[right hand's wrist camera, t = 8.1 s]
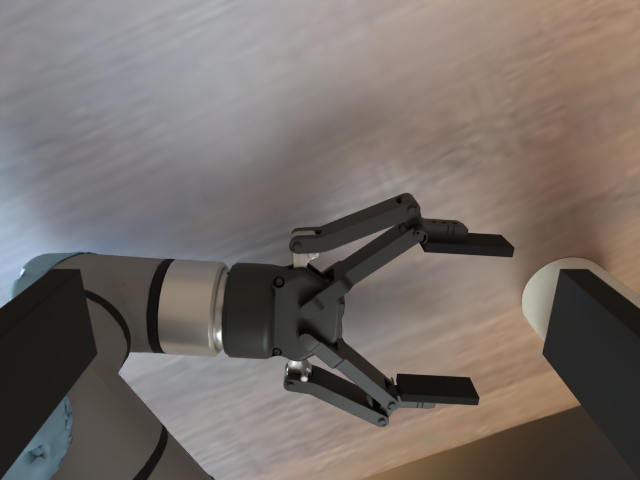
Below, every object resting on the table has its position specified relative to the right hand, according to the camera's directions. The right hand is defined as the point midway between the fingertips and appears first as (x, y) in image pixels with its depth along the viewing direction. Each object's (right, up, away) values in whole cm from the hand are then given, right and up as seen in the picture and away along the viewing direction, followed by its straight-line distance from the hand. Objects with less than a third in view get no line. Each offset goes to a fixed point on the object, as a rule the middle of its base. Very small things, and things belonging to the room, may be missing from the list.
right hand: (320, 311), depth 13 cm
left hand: (+14, -5, +24) cm, 28 cm away
